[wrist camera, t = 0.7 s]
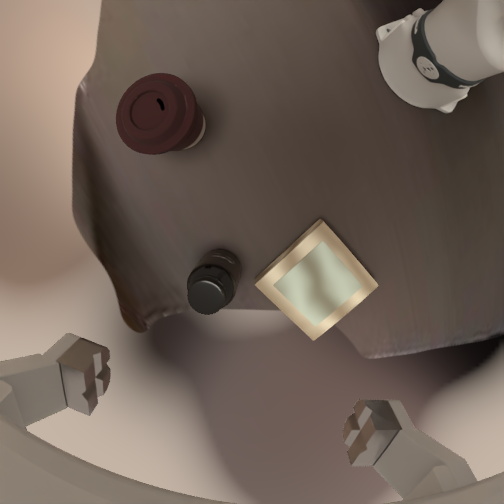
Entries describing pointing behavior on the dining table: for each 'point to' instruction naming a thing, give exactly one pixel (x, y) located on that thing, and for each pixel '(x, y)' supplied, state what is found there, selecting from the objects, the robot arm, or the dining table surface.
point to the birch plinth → (316, 280)
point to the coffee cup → (159, 115)
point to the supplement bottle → (213, 282)
